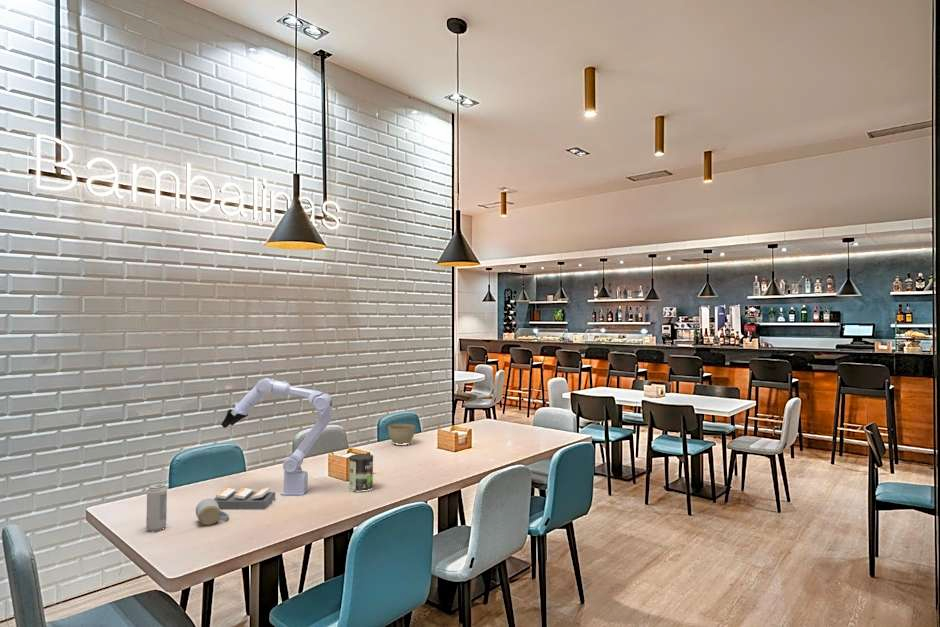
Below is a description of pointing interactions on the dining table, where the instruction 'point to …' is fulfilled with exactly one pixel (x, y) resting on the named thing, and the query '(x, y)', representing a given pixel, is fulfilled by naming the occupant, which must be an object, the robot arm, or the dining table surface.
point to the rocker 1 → (225, 493)
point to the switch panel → (246, 501)
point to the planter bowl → (401, 433)
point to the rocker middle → (243, 493)
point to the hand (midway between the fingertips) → (226, 425)
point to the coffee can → (361, 472)
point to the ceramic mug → (210, 512)
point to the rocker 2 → (260, 493)
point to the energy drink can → (156, 507)
